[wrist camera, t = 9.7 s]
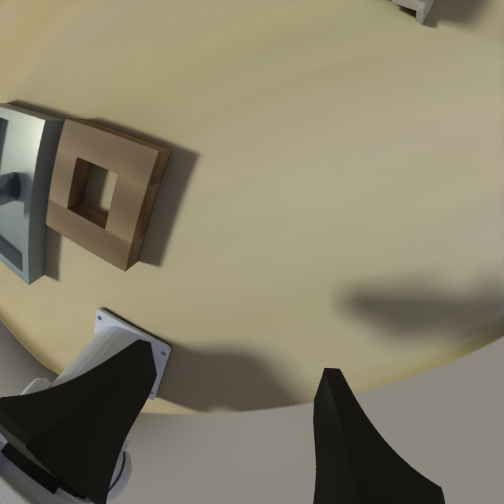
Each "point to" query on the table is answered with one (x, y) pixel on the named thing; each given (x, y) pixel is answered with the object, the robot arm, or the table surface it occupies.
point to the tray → (27, 186)
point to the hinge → (417, 7)
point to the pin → (9, 188)
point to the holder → (124, 197)
